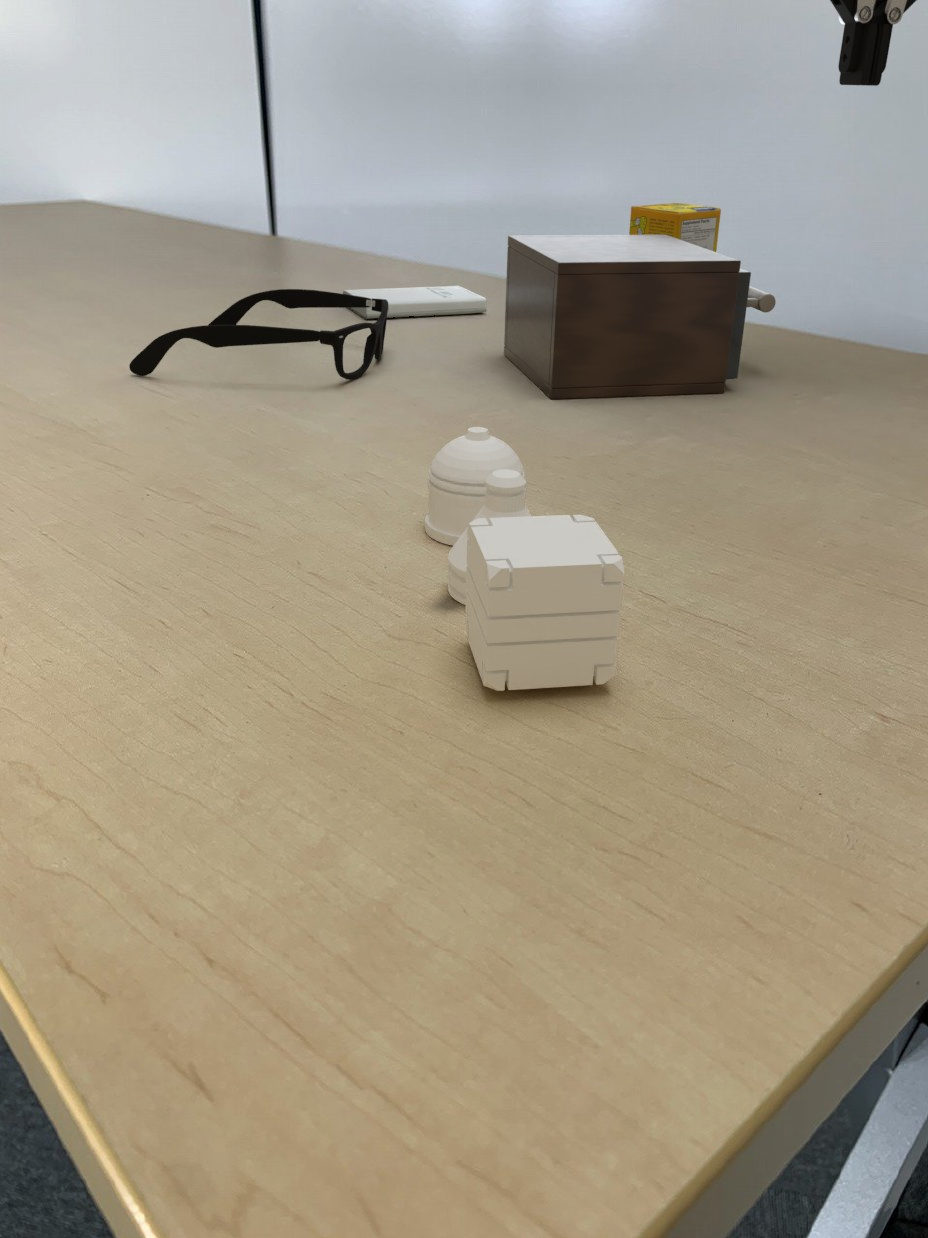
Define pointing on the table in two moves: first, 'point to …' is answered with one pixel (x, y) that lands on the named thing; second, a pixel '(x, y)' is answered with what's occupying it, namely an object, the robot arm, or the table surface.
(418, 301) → the hard drive
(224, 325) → the glasses
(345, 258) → the table surface
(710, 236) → the supplement box
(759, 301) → the drawer
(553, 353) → the cabinet
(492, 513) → the container set
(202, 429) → the table surface
